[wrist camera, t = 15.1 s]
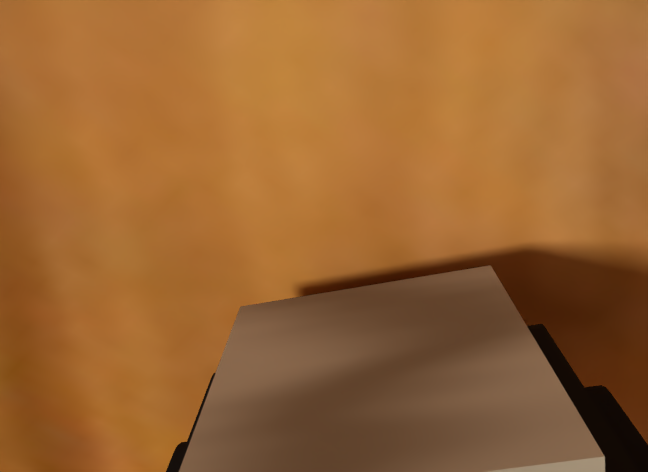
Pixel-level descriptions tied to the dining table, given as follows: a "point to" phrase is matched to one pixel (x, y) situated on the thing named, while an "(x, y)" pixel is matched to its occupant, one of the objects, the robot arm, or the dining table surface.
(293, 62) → the dining table surface
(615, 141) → the dining table surface
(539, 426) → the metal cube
